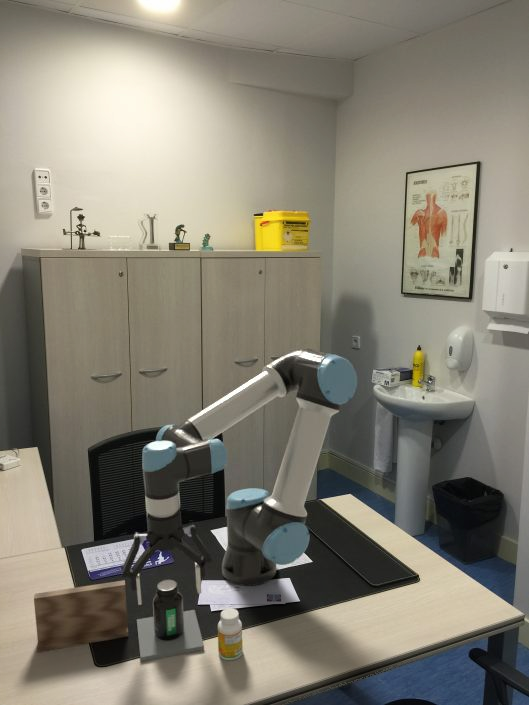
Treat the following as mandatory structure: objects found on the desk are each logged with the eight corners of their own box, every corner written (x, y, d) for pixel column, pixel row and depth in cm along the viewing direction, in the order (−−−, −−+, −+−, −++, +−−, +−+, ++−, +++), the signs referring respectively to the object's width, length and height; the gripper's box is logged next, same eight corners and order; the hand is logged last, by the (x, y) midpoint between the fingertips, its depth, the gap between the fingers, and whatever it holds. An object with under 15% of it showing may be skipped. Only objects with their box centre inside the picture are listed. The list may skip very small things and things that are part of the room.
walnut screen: (127, 620, 147) (124, 575, 144) (128, 636, 141) (125, 589, 139) (39, 635, 142) (35, 589, 139) (37, 652, 136) (32, 603, 134)
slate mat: (194, 613, 149) (194, 609, 149) (204, 649, 136) (203, 645, 136) (136, 623, 146) (136, 619, 146) (140, 661, 132) (140, 657, 132)
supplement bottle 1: (178, 643, 137) (176, 594, 135) (149, 639, 138) (147, 591, 136) (188, 624, 143) (186, 578, 141) (160, 621, 145) (158, 575, 142)
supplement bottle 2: (218, 645, 137) (217, 606, 136) (242, 644, 138) (241, 605, 136) (218, 661, 132) (217, 621, 130) (243, 660, 132) (242, 620, 131)
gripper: (215, 495, 142) (219, 577, 146) (105, 511, 136) (113, 596, 140) (221, 509, 135) (225, 594, 139) (106, 526, 128) (114, 615, 133)
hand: (169, 595), depth 139 cm, fingers open, 13 cm apart
